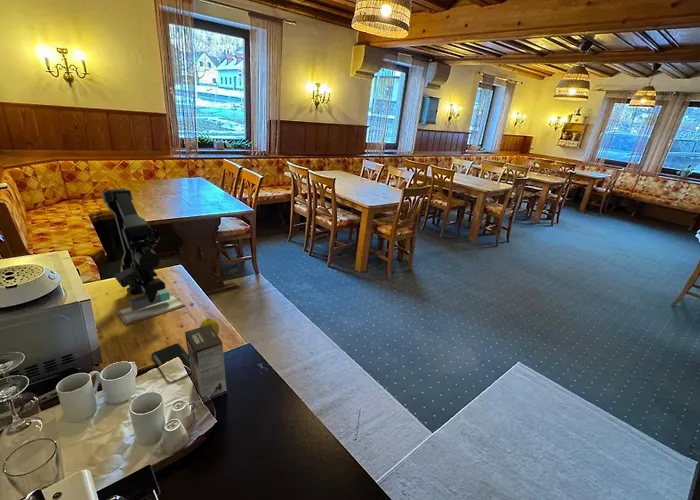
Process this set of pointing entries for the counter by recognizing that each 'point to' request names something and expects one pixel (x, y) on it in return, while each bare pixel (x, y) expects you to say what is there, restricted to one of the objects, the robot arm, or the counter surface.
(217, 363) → the coffee box
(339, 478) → the counter surface
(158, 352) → the phone
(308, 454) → the counter surface
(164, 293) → the dark gray rectangular block
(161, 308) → the cream flat piece
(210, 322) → the lemon
